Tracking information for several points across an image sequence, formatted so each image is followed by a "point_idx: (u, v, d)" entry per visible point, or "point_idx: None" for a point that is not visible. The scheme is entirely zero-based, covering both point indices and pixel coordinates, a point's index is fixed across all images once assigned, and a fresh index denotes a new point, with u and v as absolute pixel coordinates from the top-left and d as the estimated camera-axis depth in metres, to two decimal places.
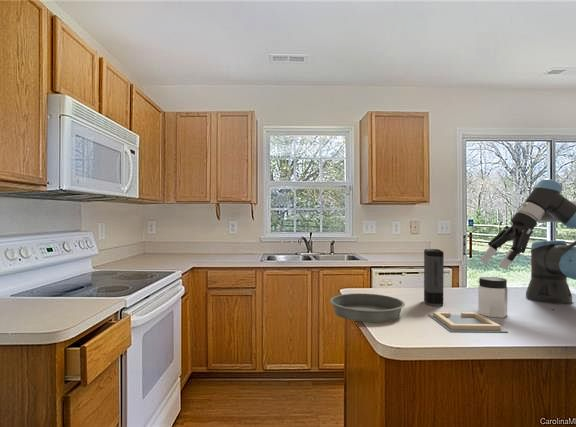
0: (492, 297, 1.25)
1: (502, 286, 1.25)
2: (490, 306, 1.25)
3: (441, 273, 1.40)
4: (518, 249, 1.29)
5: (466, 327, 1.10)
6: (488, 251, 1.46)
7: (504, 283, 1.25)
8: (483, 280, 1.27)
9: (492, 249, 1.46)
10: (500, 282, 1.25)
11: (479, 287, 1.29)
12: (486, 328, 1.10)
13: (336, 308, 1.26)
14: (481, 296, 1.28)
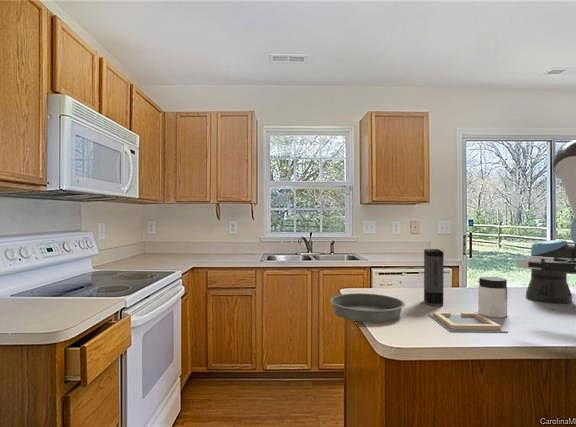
0: (492, 297, 1.25)
1: (502, 286, 1.25)
2: (490, 306, 1.25)
3: (441, 273, 1.40)
4: None
5: (466, 327, 1.10)
6: None
7: (504, 283, 1.25)
8: (483, 280, 1.27)
9: None
10: (500, 282, 1.25)
11: (479, 287, 1.29)
12: (486, 328, 1.10)
13: (336, 308, 1.26)
14: (481, 296, 1.28)
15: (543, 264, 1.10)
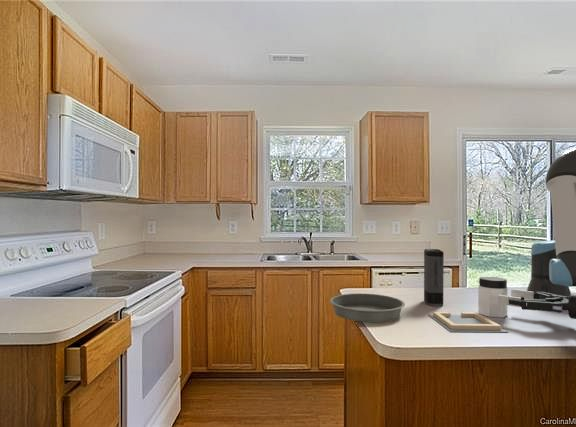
0: (492, 297, 1.25)
1: (502, 286, 1.25)
2: (490, 306, 1.25)
3: (441, 273, 1.40)
4: None
5: (466, 327, 1.10)
6: None
7: (504, 283, 1.25)
8: (483, 280, 1.27)
9: None
10: (500, 282, 1.25)
11: (479, 287, 1.29)
12: (486, 328, 1.10)
13: (336, 308, 1.26)
14: (481, 296, 1.28)
15: (523, 303, 1.13)
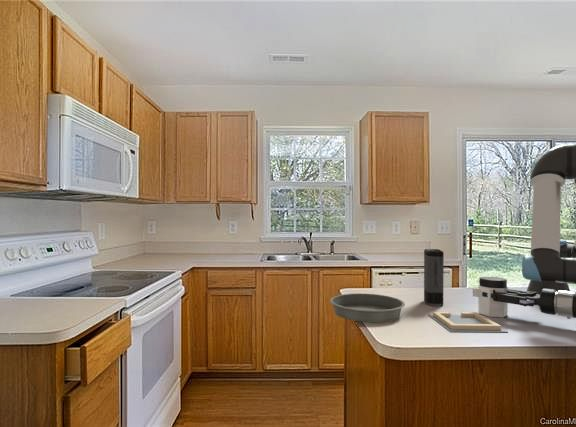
0: None
1: (502, 286, 1.25)
2: (490, 306, 1.25)
3: (441, 273, 1.40)
4: None
5: (466, 327, 1.10)
6: None
7: (504, 283, 1.25)
8: (483, 280, 1.28)
9: None
10: (500, 282, 1.25)
11: (479, 287, 1.29)
12: (486, 328, 1.10)
13: (336, 308, 1.26)
14: (481, 296, 1.28)
15: (494, 295, 1.23)
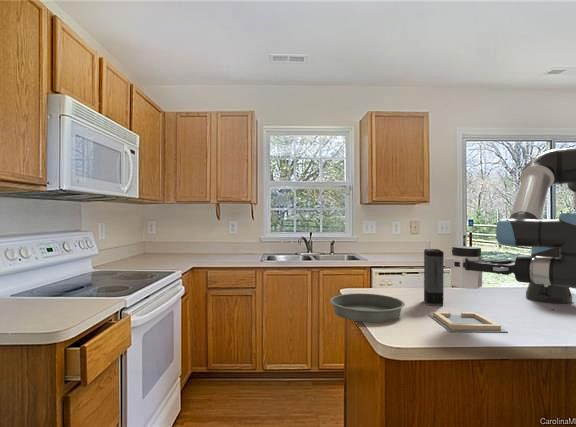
0: None
1: (475, 254, 1.14)
2: (462, 276, 1.15)
3: (441, 273, 1.40)
4: None
5: (466, 327, 1.10)
6: None
7: (478, 251, 1.15)
8: (455, 248, 1.17)
9: None
10: (473, 250, 1.14)
11: (452, 257, 1.18)
12: (486, 328, 1.10)
13: (336, 308, 1.26)
14: (454, 266, 1.18)
15: (466, 264, 1.12)
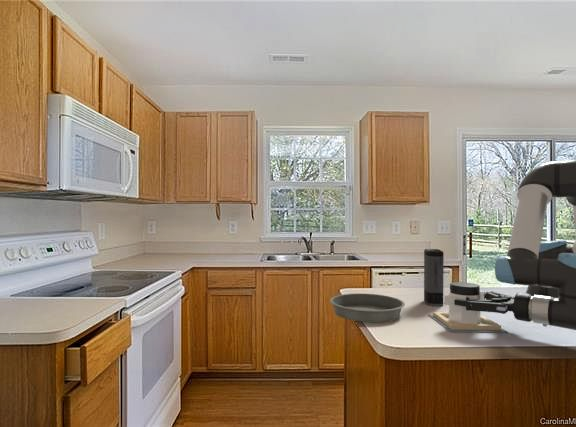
0: None
1: (475, 293, 1.12)
2: (462, 316, 1.12)
3: (441, 273, 1.40)
4: None
5: (466, 327, 1.10)
6: None
7: (477, 289, 1.12)
8: (454, 286, 1.14)
9: None
10: (472, 288, 1.12)
11: (450, 294, 1.16)
12: (486, 328, 1.10)
13: (336, 308, 1.26)
14: None
15: (466, 303, 1.08)
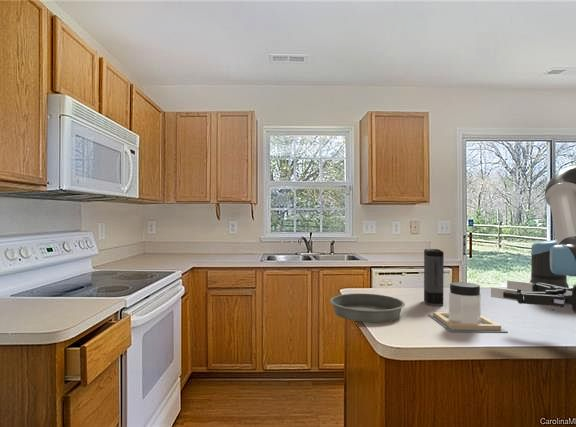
0: (464, 305, 1.12)
1: (475, 293, 1.12)
2: (462, 316, 1.12)
3: (441, 273, 1.40)
4: None
5: (466, 327, 1.10)
6: None
7: (477, 290, 1.12)
8: (454, 286, 1.14)
9: None
10: (473, 288, 1.12)
11: (450, 294, 1.16)
12: (486, 328, 1.10)
13: (336, 308, 1.26)
14: (452, 304, 1.15)
15: (519, 296, 0.98)
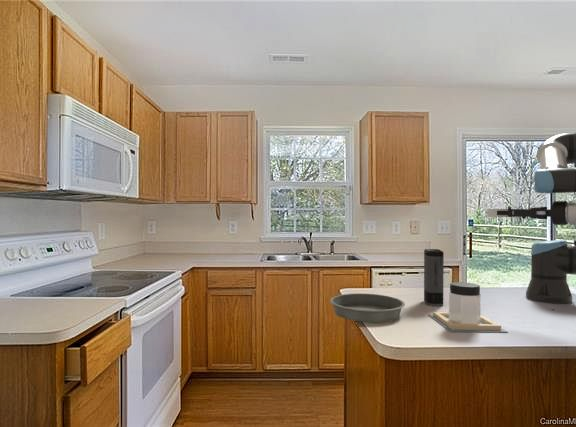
0: (464, 305, 1.12)
1: (475, 293, 1.12)
2: (462, 316, 1.12)
3: (441, 273, 1.40)
4: None
5: (466, 327, 1.10)
6: None
7: (477, 290, 1.12)
8: (454, 286, 1.14)
9: None
10: (473, 288, 1.12)
11: (450, 294, 1.16)
12: (486, 328, 1.10)
13: (336, 308, 1.26)
14: (452, 304, 1.15)
15: (509, 211, 1.22)
